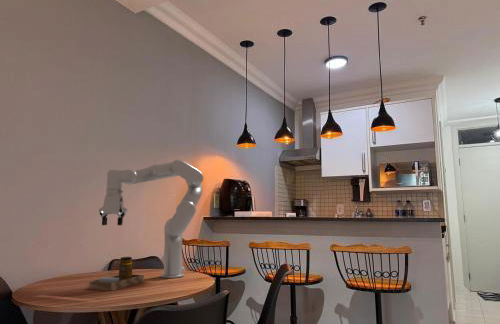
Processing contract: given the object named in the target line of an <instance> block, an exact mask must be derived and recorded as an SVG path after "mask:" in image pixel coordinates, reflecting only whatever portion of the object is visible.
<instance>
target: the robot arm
mask: <svg viewBox="0 0 500 324" xmlns="http://www.w3.org/2000/svg"><path fill="white" fill-rule="evenodd" d="M106 173H107V174H106V192H105V195H104V198H103V199H104V200H103V205H102V207H100V208H99V209H98V213H99V215H100V218H101V226H107V225H108V216H109V215H117V223H116V224H117V226H123V224H124V223H123V221H124V217H125V216H126V213H127V212H128V209H127V208H126V207H125V206H124V196H123V195H122V193H123V190H122V185H123V183H124V184H126V185H129V186H130V185H131V186H132V185H134V184H136V185H137V184H141V183H145V182H146V183H147V182H151V181H157V180H162V179H168V178H172V177H178V176H179V177H180V178H182V179H184V180H185V183H186V185H187V190H186V192H185V194H184V196H183V198H182V199H181V200H180V202H179V203H178V204H177V206H176V209H175V212H174V214H173V216H172V217H171V218H169V219H168V220H166V222H165V224H164V229H163V230H164V231H163V232H164V248H163V249H164V250H163V252H164V255H163V272H162V273H161V274H160V277H161V278H164V279H165V278H166V279H174V278H182V277H184V276H185V273H184V272H183V271H184V270H185V267H184V266H182V264H183V263H182V259H183V258H182V257H183V254H182V253H183V236H182V235H183V234H184V232H185V231H186V230H187V228H188V227H189V225H190V223H191V221H192V220H193V218H194V216H195V215H196V211H197V208H196V206H197V204H198V202H199V201H200V199H201V197H202V195H203V185H202V183H203V181H204V174H203V172H201V170H199V169H197V168H196V167H194V166H192V165H191V164H189V163H188V162H186V161H184V160H182V159H179V158H177V159H175V160H173V161H169V162H163V163H157V164H153V165H150V166H147V167H145V168H141V169H137V170H134V169H121V170H120V169H108V170H107V172H106Z"/></svg>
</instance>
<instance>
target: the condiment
mask: <svg viewBox="0 0 500 324" xmlns="http://www.w3.org/2000/svg"><path fill="white" fill-rule="evenodd" d="M132 260H133V257H131V256H123V257H120V262H119V264H118V267H119V268H118V275H119V279H129V278H132V275H133V261H132Z"/></svg>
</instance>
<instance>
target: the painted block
mask: <svg viewBox="0 0 500 324" xmlns="http://www.w3.org/2000/svg"><path fill="white" fill-rule="evenodd" d="M98 279H99V282H110V283H114V282H117V281H119V278H113V277H111V276H104V277H99V278H98Z"/></svg>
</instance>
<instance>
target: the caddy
mask: <svg viewBox="0 0 500 324" xmlns="http://www.w3.org/2000/svg"><path fill="white" fill-rule="evenodd" d="M110 277H113V278H119V274H115V275H111V276H110ZM144 277H145V276H144V274H132V278H129V279H119V281H117V282H114V283H110V282H99V278H98V279H94V280H89V282H88V290H89V289H90V290H100V291H101V290H102V291H116V290H119V289H122V288H126V287H129V286H133V285H136V284H140V283H143V282H144Z"/></svg>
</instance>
